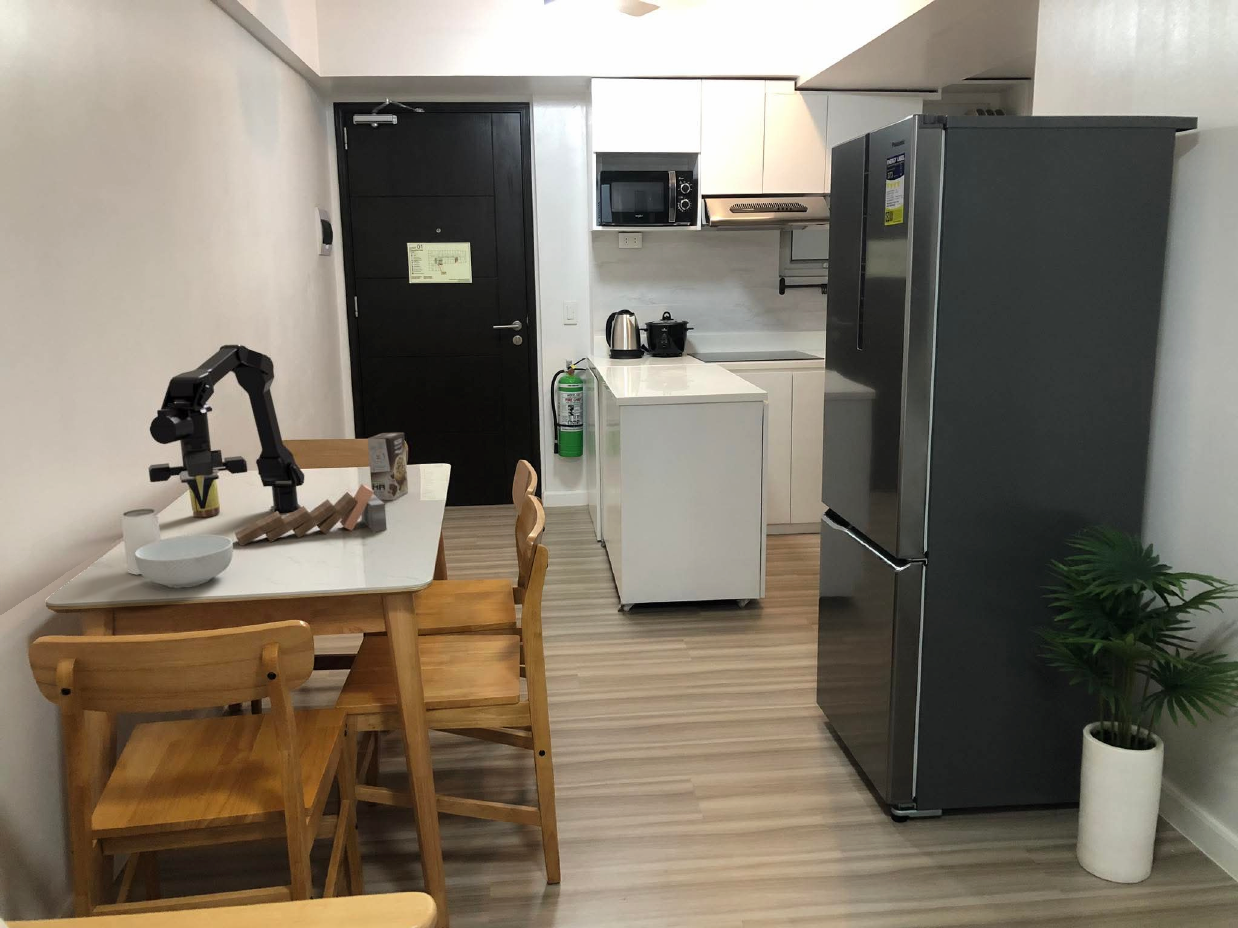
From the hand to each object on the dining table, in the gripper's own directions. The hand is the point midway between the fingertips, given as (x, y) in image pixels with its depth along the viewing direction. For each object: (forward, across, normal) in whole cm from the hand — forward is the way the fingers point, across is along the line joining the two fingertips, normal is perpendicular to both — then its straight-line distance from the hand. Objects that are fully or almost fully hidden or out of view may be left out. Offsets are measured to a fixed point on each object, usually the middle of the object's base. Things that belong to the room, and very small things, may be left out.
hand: (202, 508), depth 204 cm
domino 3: (+8, +18, 0) cm, 20 cm away
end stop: (+8, +36, 0) cm, 37 cm away
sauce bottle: (+9, +2, +32) cm, 34 cm away
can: (+9, -12, -11) cm, 18 cm away
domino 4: (+8, +24, 0) cm, 25 cm away
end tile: (+8, +29, 0) cm, 30 cm away
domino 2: (+8, +12, 0) cm, 14 cm away
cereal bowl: (+9, -5, -23) cm, 25 cm away
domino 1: (+8, +6, 0) cm, 10 cm away
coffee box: (+8, +46, +27) cm, 54 cm away
